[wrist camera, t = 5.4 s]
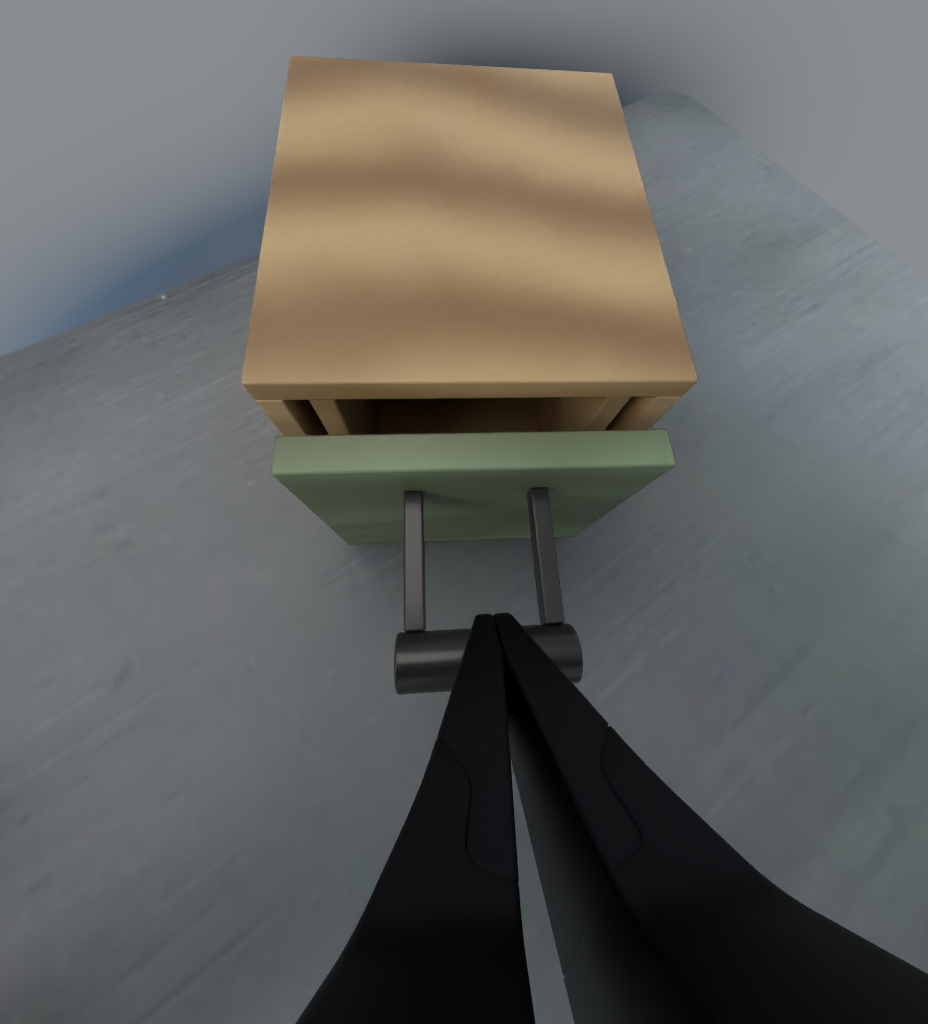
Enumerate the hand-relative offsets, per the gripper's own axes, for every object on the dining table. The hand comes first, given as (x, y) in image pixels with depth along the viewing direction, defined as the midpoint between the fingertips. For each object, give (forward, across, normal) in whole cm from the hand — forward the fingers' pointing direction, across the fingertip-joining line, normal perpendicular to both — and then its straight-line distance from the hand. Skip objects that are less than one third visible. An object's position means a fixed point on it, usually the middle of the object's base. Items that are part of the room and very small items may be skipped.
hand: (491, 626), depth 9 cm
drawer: (+12, 0, +1) cm, 12 cm away
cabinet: (+17, 0, -3) cm, 17 cm away
